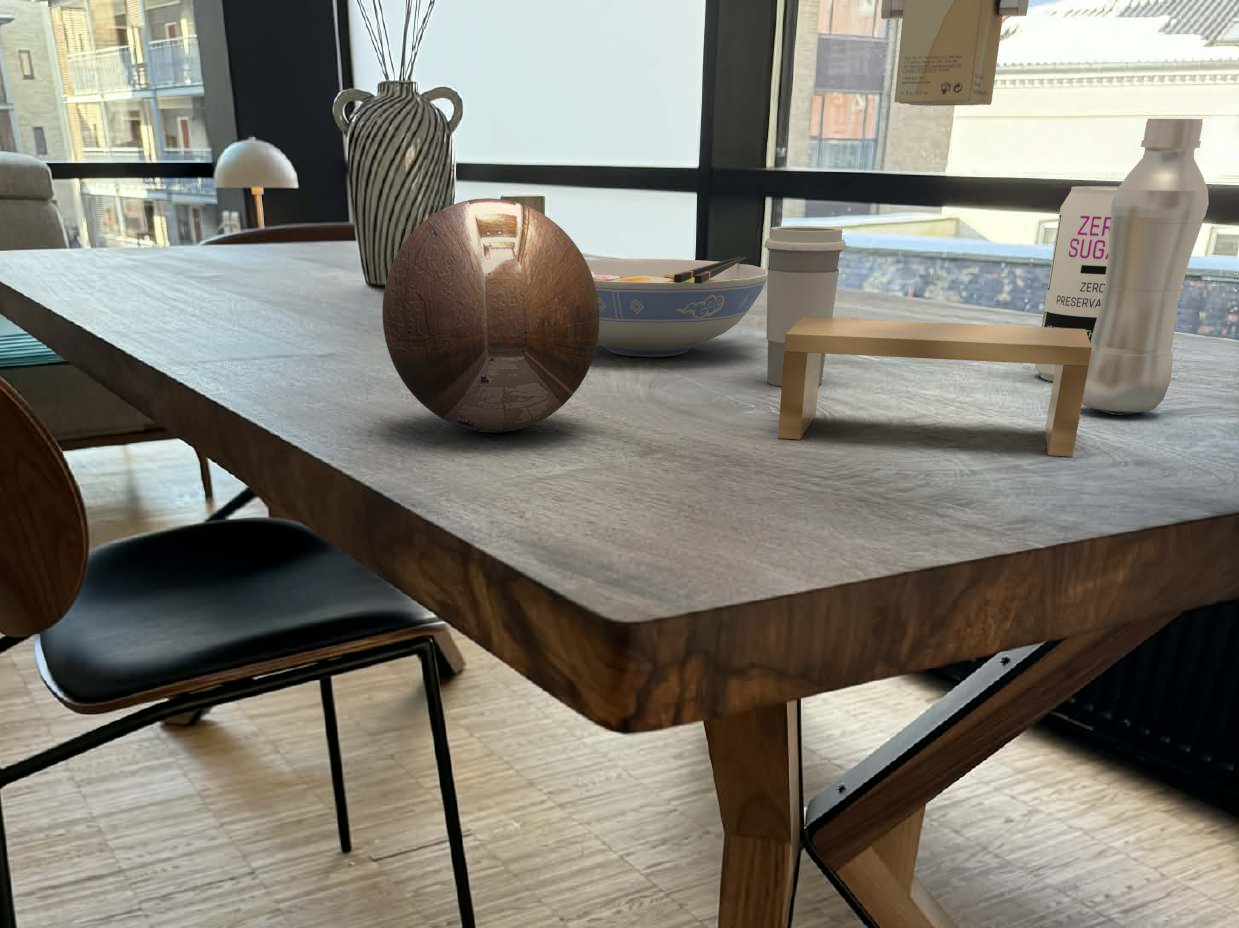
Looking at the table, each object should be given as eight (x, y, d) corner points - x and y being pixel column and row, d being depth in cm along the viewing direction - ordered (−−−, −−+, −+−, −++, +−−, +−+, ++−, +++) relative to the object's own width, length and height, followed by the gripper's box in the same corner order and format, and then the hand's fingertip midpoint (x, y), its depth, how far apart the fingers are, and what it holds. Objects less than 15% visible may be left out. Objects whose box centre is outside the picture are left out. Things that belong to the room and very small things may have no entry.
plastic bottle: (1073, 402, 108) (1124, 118, 99) (1162, 408, 106) (1223, 119, 97) (1070, 417, 103) (1123, 118, 93) (1164, 423, 101) (1229, 119, 91)
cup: (820, 392, 112) (834, 232, 106) (743, 385, 114) (753, 229, 108) (843, 379, 117) (857, 227, 112) (770, 373, 120) (780, 224, 114)
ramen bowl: (576, 329, 144) (576, 245, 140) (788, 340, 138) (794, 252, 134) (489, 364, 123) (487, 267, 119) (734, 379, 117) (740, 277, 113)
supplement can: (1107, 370, 123) (1142, 186, 115) (1146, 386, 115) (1185, 190, 108) (1020, 371, 122) (1049, 185, 115) (1053, 386, 115) (1086, 190, 108)
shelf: (1067, 431, 99) (1085, 328, 95) (1072, 456, 91) (1092, 346, 88) (794, 415, 103) (802, 317, 100) (777, 438, 96) (785, 333, 92)
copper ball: (431, 461, 88) (419, 206, 81) (363, 419, 100) (346, 194, 93) (634, 441, 94) (640, 202, 87) (546, 404, 106) (545, 191, 99)
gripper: (1207, -317, 66) (1151, 16, 73) (790, -286, 71) (774, 24, 78) (1226, -355, 61) (1163, 8, 68) (774, -319, 65) (758, 17, 72)
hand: (952, 17), depth 73 cm, fingers closed on box, 5 cm apart
